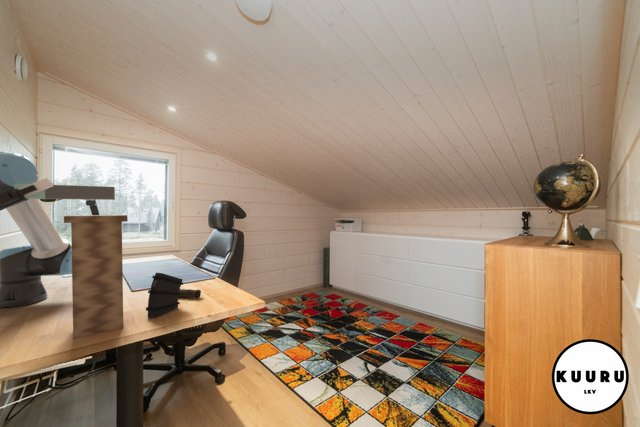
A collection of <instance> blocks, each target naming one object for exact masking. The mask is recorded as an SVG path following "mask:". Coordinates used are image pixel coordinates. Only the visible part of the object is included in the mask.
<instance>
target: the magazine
mask: <svg viewBox="0 0 640 427" xmlns="http://www.w3.org/2000/svg"><path fill="white" fill-rule="evenodd" d="M151 278H152V279H153V280H152V282H151V286H150V289H148V291H147V294H149V295H148V302H147V306H146V307H145V311H147V318H149V319H155V318H157V317H158V318H159V317H160V316H162V315H165V314H167V313H170V312H172V311H174V310H177V309H178V308H179V305H180V304H181V302H179V297H178V296H179V295H180V294H181V293H179V290H180V289H181V286H183V285H184V282H183V280H184V279H183V278H180V277H176V276H172V275H169V274H166V273H161V272H155V274H154V275H152V277H151Z"/></svg>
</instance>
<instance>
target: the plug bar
mask: <svg viewBox="0 0 640 427" xmlns="http://www.w3.org/2000/svg"><path fill="white" fill-rule="evenodd" d="M26 185H29V184H14V189H18V188H21V187H23V186H26ZM53 186H54V187H51V188H49V189H46V190H43V191H41V192H38V193H36V194H33V195H31V196H28V197H25V196H24V195H23V196H24V197H25V198H26V199H38V200H92V201H93V200H97V201H98V200H99V201H103V200H104V201H105V200H107V201H108V200H109V201H110V200H111V201H112V200H113V201H114V200H115V199H116V197H115V194H116V193H115V192H116V191H115V188H116V187H115V186H99V185H95V186H94V185H93V186H92V185H70V184H69V185H67V184H64V185H63V184H54V185H53ZM18 190H19V189H18Z"/></svg>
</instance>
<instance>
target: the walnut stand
mask: <svg viewBox="0 0 640 427" xmlns="http://www.w3.org/2000/svg"><path fill="white" fill-rule="evenodd" d="M128 219H129V218H128V214H106V215H105V214H102V215H101V214H98V215H97V214H95V215H93V214H92V215H91V214H90V215H89V214H88V215H85V214H84V215H64V216H63V224H71V225H70V226H71V227H70V228H71V232H70V233H71V239H70V240H71V247H72V274H71V281H72V282H71V284H72V285H71V288H72V339H76V338H81V337H86V336H90V335H96V334H100V333H104V332H110V331H113V330H114V331H115V330H118V329H123V328H124V287H123V285H124V284H123V281H124V279H123V278H124V277H123V275H124V274H123V222H125V223H126V222H128V221H129V220H128Z"/></svg>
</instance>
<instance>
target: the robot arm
mask: <svg viewBox="0 0 640 427" xmlns="http://www.w3.org/2000/svg"><path fill="white" fill-rule="evenodd" d="M38 172H39V171H38V169H37V167H36V165H35V164H34V162H33V161H31V160H30V158H28V157H26V156H25V155H22V154H19V153H15V152H14V153H13V152H6V151H0V211H3V210H5V209H6V211H7V212H8V214H9V215H10V217H11V218H12V220H13V221H14V222H15V224H16V225H17V227H18V228H19V230H20V231H21V233H22V234H23V235H24V237H25V239H26V240H27V242H29V245H23V246H15V247H8V248H3V249H1V250H0V309H5V308H6V307H8V308H15V307H22V306H26V305H31V304H34V303H35V304H36V303H39V302H42V301H44V300H46V299H47V298H48V292H47V290H46V288H45V286H44V284H43V282H42V277H43V276H44V277H47V276H48V277H49V276H51V277H52V276H66V275H72V244H71V243H70V242H69V241H68V240H67V239H65V238H61V236H60V234H59V233H58V231H57V229H56V228H55V226H54V224H53V223H52V221H51V219H50V217H49V216H48V214H47V212H46V211H45V209H44V208H43V206H42V204H41V202H40V200H39V199H26V198H25V197H28V196H31V195H33V194H36V193H38V192H41V191H43V190H46V189H49V188H51V187H54V186H53V185H55V184H54V183H53V181H52V180H51V179H49V178H48V177H45V178H42V179H40V180H39V176H38ZM14 184H29V185H26V186H23V187H21V188H18V189H19V190H18V189H14ZM23 195H24V196H25V197H24V196H23Z"/></svg>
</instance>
